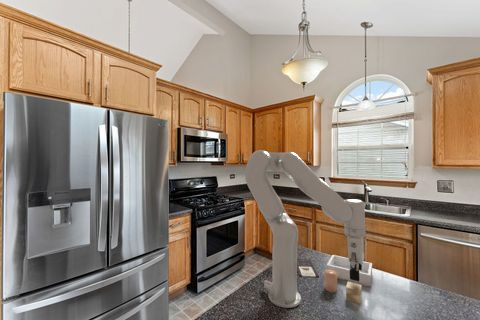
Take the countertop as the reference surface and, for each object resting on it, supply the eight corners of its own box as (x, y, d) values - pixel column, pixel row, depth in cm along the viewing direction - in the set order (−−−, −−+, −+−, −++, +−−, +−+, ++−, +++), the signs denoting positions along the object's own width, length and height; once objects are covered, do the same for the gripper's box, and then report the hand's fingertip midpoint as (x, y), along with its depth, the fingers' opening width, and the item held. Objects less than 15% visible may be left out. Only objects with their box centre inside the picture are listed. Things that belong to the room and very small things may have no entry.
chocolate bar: (309, 259, 124) (318, 276, 106) (309, 261, 124) (318, 278, 106) (293, 258, 124) (299, 275, 106) (293, 260, 124) (299, 277, 106)
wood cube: (346, 299, 89) (346, 287, 89) (347, 293, 93) (347, 281, 93) (360, 304, 86) (360, 291, 86) (361, 297, 90) (361, 285, 90)
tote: (326, 275, 107) (326, 264, 107) (332, 264, 119) (332, 254, 119) (370, 287, 97) (370, 275, 97) (372, 273, 109) (372, 263, 109)
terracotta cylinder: (323, 289, 95) (323, 273, 95) (326, 284, 99) (326, 268, 99) (336, 293, 92) (336, 276, 92) (338, 288, 97) (338, 271, 97)
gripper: (363, 239, 80) (365, 287, 80) (366, 226, 95) (368, 267, 95) (340, 236, 84) (342, 282, 84) (347, 224, 99) (348, 263, 99)
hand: (356, 274), depth 89 cm, fingers open, 9 cm apart
